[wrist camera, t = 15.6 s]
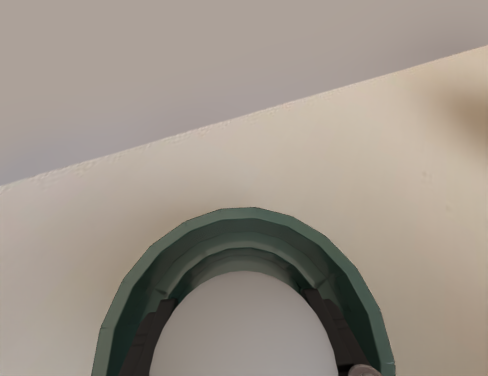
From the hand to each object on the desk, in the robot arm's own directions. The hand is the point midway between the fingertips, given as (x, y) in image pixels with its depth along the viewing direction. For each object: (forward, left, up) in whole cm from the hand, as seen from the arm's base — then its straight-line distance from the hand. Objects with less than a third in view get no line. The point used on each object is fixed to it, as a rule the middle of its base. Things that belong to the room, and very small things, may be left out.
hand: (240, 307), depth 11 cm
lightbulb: (+1, +2, -5) cm, 5 cm away
